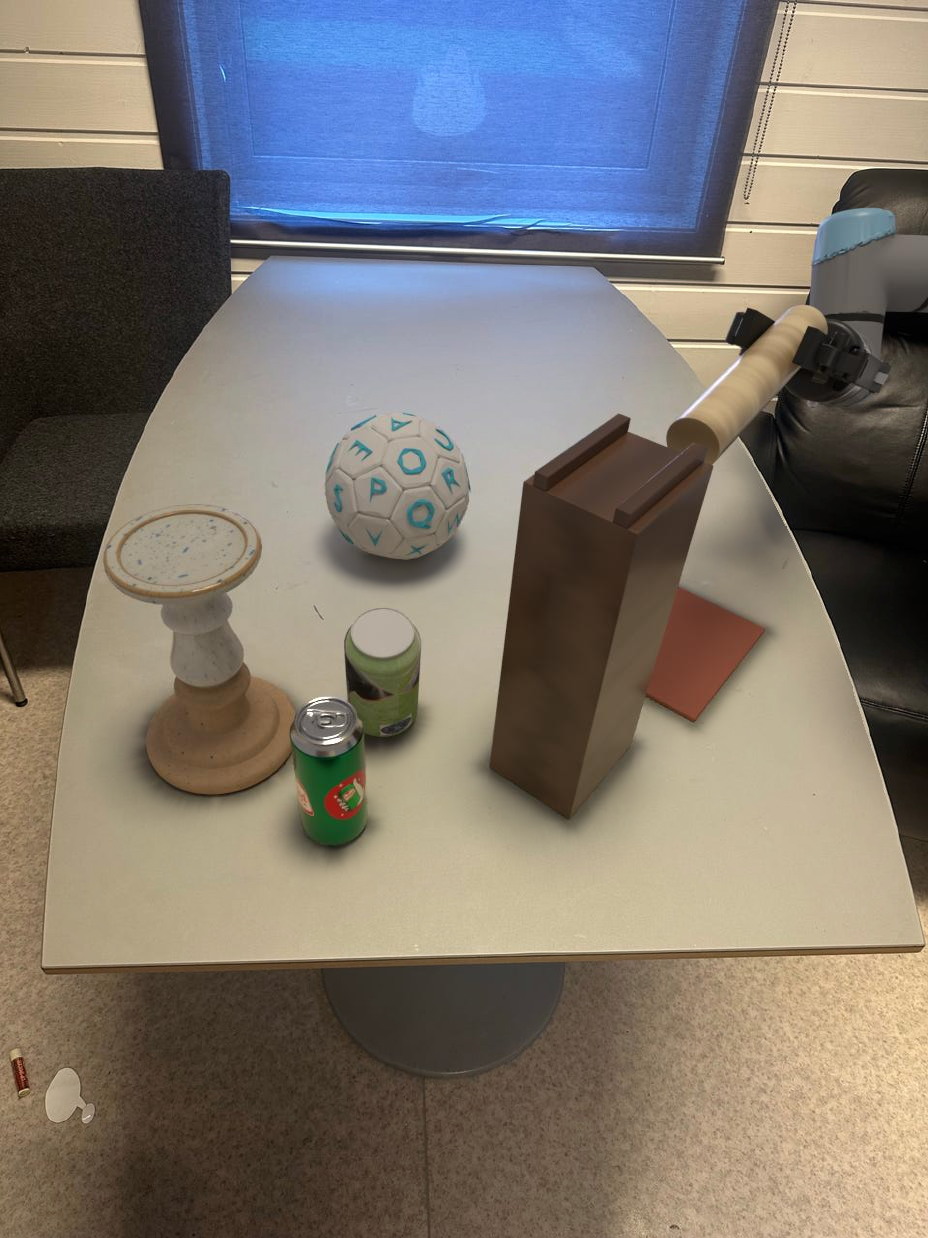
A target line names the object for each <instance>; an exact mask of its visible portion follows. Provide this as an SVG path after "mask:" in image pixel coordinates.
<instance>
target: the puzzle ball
mask: <svg viewBox="0 0 928 1238" xmlns="http://www.w3.org/2000/svg"><path fill="white" fill-rule="evenodd" d="M471 490H472V489H471V484H470V479H469V473H468V469H467V464H466V460H465V457H464V454H463V452H462V451H461V448H460V447H459V446H458V444H457V443H456V441H455V440H454V439H453V438H452V437H451V436H450V435H449V434H448V433H447V432H446V430H444V429H443V428H442V427H441V426H439V425H437V424H436V423H435V422H432V421H429V420H428V419H425V418H422V417H419V416H417V415H415V414H413V413H408V412H402V413H398V412H391V413H383V414H380V415H377V414H375V415H373V416H371V417H369V418H367V419H365V420H363V421H361V422H359V423H357V424H356V425H354V426H352V427H351V428H350V431H349V432H347V433H346V434H344V435H343V436H342V439H340V440H339V441H338V442H337V443H336V445H335V447H334V449H333V451H332V453H331V455H330V457H329V459H328V463H327V467H326V470H325V477H324V495H325V500H326V505H327V510H328V513H329V514H330V516H331V518H332V521H333V523H334V524H335V526H336V527H337V529H338V530H339V532H340V533H341V535H342V536H343V538H344V539H345V540H346V542H348V543H349V544H350V545H353V546H354V547H356V548H359V549H360V550H362V551H363V552H366V553H368V554H371V555H376V556H379V557H383V558H388V559H394V560H405V561H407V560H410V559H411V560H412V559H418V558H420V557H422V556H424V555H426V554H429V553H431V552H433V551H435V550H437V549H439V548H440V547H441V546H442V545H444V544H445V543H446V542H447V541H449V540H450V539H451V538H452V537H453V536H454V535H455V534H456V533H457V531H458V529H459V527H460V525H461V523H462V521H463V519H464V518H465V515H466V513H467V510H468V506H469V504H470V492H471Z"/></svg>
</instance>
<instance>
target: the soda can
mask: <svg viewBox="0 0 928 1238" xmlns="http://www.w3.org/2000/svg"><path fill="white" fill-rule="evenodd" d="M290 742H291V749H292V751H291V757H292V763H293V770H294V771H293V772H294V777H295V784H296V785H295V786H296V790H297V791H296V794H297V799H298V800H297V801H298V806H299V807H298V808H299V814H300V822H301V826H302V830H303V831H304V833H305V835H307V837H309V839H310V840H312V841H314V842H316V843H318V844H321V845H324V846H338V845H339V846H340V845H343V844H346V843H349V842H351V841H353V840H354V839H356V837H358V836H359V835H360V834H361V833H362V832H363V830H364V829H365V828H366V825H367V821H368V814H369V813H368V794H367V793H368V792H367V773H366V771H367V770H366V749H365V748H366V747H365V733H364V727H363V722H362V719H361V718H360V716H359V715H358V714H357V713H356V711H355V709H354V707H353V706H352V705H351V704H350V703H348V701H347V700H345V699H343V698H340V697H337V696H321V697H320V696H319V697H316V698H313V699H311V700H309V701H307V702H305V703H304V704H303V705H301V706H300V707H299V708H298V710H297V711H296V715H295V718H294V720H293V722H292V724H291V727H290Z"/></svg>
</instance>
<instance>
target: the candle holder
mask: <svg viewBox="0 0 928 1238" xmlns="http://www.w3.org/2000/svg"><path fill="white" fill-rule="evenodd" d="M262 549H263V543H262V538H261V535H260V532H259V531H258V528H257V527H256V526H255V524H254V523H253V522H252V521H251V520H250V519H248V518H247V517H246V516H244V515H242V514H241V513H239V512H237V511H234V510H232V509H230V508H225V507H222V506H217V505H212V504H203V503H200V504H199V503H196V504H192V503H191V504H190V503H188V504H179V505H172V506H167V507H166V506H165V507H163V508H159V509H155V510H152V511H149V512H146V513H144V514H142V515H140V516H137V517H135V518H134V519H132V520H130V521H129V522H127V523H125V524H124V525H123V526H122V527H120V528H119V529H118V530H117V531H116V532H115V533H114V534H113V535H112V536H111V537H110V539H109V540H108V542H107V544H106V545H105V549H104V551H103V556H102V557H103V559H102V562H103V567H104V572H105V574H106V576H107V578H108V580H109V581H110V583H111V584H112V585H113V586H114V587H115V588H116V589H117V590H118V591H119V592H121V593H122V594H123V595H125V596H127V597H129V598H131V599H133V600H136V601H140V602H142V603H148V604H152V605H160V606H161V609H160V617H161V621H162V623H163V624H164V625H165V626H166V627H167V628H168V629H169V630H170V631H172V641H171V647H170V653H169V665H170V668H171V671H172V673H173V674H174V676H175V677H174V681H173V691H174V693H173V694H172V695H171V696H170V697H169V698H167V699H165V701H164V702H163V703H161V705H160V706H159V708H158V709H157V710H156V712H155V713H154V714H153V716H152V719H151V721H150V722H149V725H148V728H147V733H146V735H145V737H146V738H145V739H146V740H145V741H146V742H145V746H146V751H147V757H148V759H149V761H150V763H151V765H152V767H153V769H154V771H156V772H157V774H158V775H159V776H160V777H161V778H162V779H163V780H164V781H165V782H166V783H168V784H170V785H171V786H173V787H175V788H178V789H180V790H182V791H185V792H188V793H189V792H190V793H194V794H197V795H198V794H199V795H221V794H230V793H234V792H238V791H241V790H244V789H247V788H250V787H252V786H254V785H257V784H258V783H260V782H262V781H263V780H265V779H267V778H269V777H270V776H271V775H272V774H273V773H275V772H276V771H278V769H279V768H280V767H282V765H283V764H284V763H285V762H286V761H287V760H288V758H289V756H290V755H291V754H292V749H291V742H290V727H291V724H292V722H293V720H294V718H295V715H296V713H297V711H296V709H295V707H294V705H293V703H292V701H291V700H290V698H289V697H288V696H287V694H286V693H284V692H283V690H282V689H280V688H279V687H277V686H276V685H274V684H273V683H271V682H269V681H268V680H264V679H262V678H259V677H255V676H252V675H251V672H250V668H249V666H248V664H246V663H245V662H244V658H245V650H244V647H243V644H242V642H241V640H240V639H239V637H238V636H237V635H236V633H235V631H234V630H233V627H232V626H231V625H230V624H231V623H230V622H229V621H228V620H229V618H230V617H231V615H232V613H233V609H234V608H233V601H232V599H231V597H230V596H229V594H228V592H230V591H232V590H235V588H237V587H239V586H240V585H241V584H243V583H244V582H245V581H246V580H248V578H250V576H251V575H252V574H253V573H254V571H255V570H256V568H257V567H258V565H259V562H260V559H261V557H262V551H263V550H262Z"/></svg>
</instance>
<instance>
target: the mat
mask: <svg viewBox="0 0 928 1238" xmlns="http://www.w3.org/2000/svg"><path fill="white" fill-rule="evenodd" d="M765 631H766V627H764V626H762V625H760V624H758V623H755V622H753V621H751V620H749V619H747V618H745V617H743V616H741V615H738V614H736V613H735V612H732V611H730V610H728V609H726V608H724V607H722V606H720V605H718V604H715V603H713V602H711V601H709V600H707V599H705V598H703V597H700V596H699V595H696V594H694V593H692V592H690V591H689V590H687V589H684V588H682V587H680V586H678V589H677V592H676V595H675V599H674V602H673V605H672V609H671V612H670V616H669V619H668V622H667V626H666V629H665V632H664V636H663V639H662V643H661V646H660V649H659V653H658V656H657V660H656V663H655V666H654V670H653V673H652V676H651V680H650V683H649V687H648V690H647V693H646V697H648V698H649V699H650V700H653V701H654V702H656V703H658V704H660V705H662V706H664V707H666V708H667V709H669V710H672V711H673V712H675V713H676V714H678V715H680V716H682V717H683V718H686V720H687V719H688V720H689V721H691V722H692V723H694V722H696V720H697V719H698V718H699V716H700V715H701V714H702V712H703V711H704V710H705V708H706V707H707V705H709V703H710V702H711V701H712V699H713V698H714V697H715V696H716V695H717V693H718V691H720V689H721V688H722V687H723V686H724V684H725V683H726V682H727V680H728V679H729V677H730V676H731V675H732V674H733V672H734V671H735V670H736V669H737V667H738V666H739V664H740V663H741V662H742V661H743V659H745V657H746V656H747V654H748V653H749V652H750V650H751V649H752V648H753V647H754V645H755V644H756V643H757V641H758V640H759V639H760V637H761V636H762V635H763V634H764V632H765Z"/></svg>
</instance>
